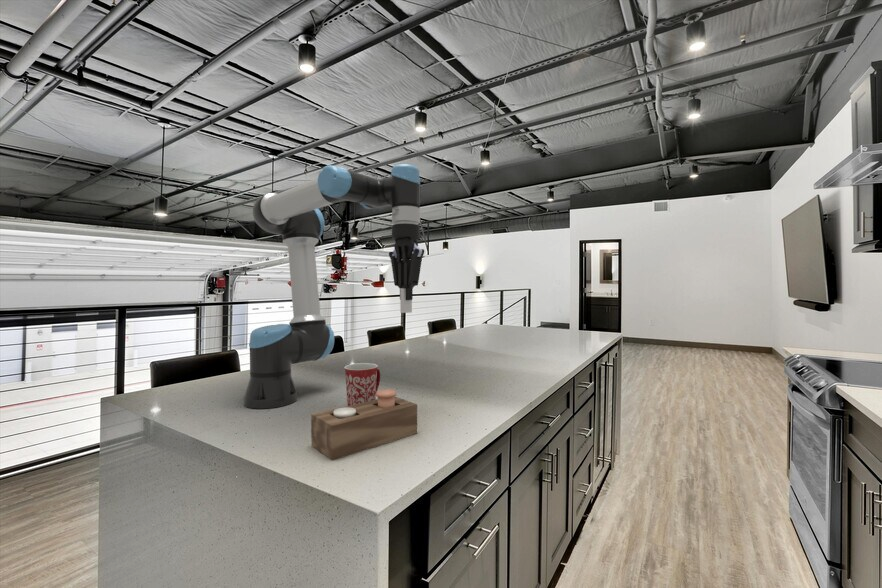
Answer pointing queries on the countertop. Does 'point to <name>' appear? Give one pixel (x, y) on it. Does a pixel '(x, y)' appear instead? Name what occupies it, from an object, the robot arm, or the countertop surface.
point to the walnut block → (362, 427)
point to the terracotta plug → (386, 398)
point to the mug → (361, 382)
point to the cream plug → (344, 412)
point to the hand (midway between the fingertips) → (406, 312)
